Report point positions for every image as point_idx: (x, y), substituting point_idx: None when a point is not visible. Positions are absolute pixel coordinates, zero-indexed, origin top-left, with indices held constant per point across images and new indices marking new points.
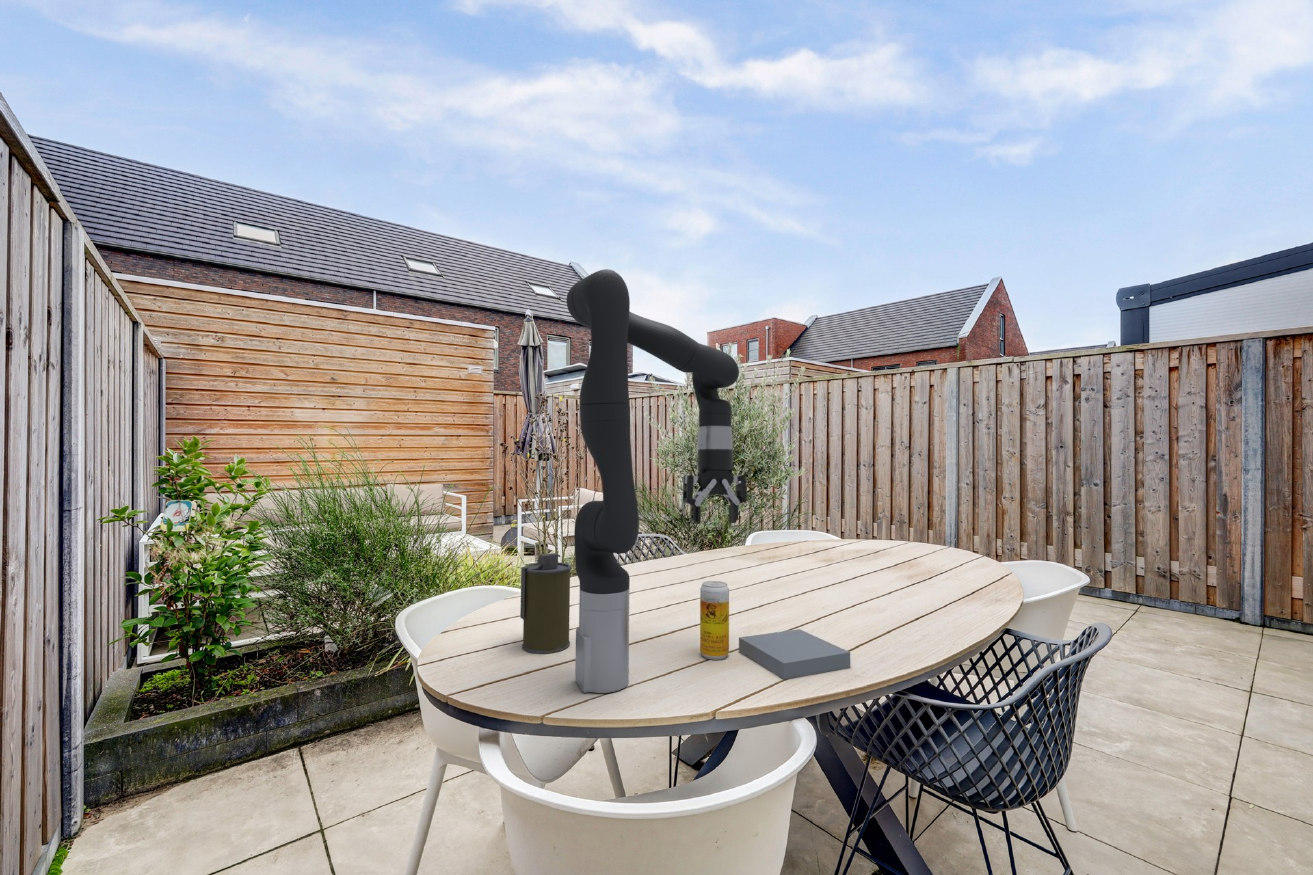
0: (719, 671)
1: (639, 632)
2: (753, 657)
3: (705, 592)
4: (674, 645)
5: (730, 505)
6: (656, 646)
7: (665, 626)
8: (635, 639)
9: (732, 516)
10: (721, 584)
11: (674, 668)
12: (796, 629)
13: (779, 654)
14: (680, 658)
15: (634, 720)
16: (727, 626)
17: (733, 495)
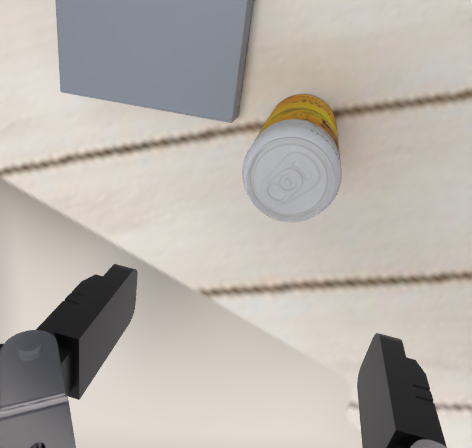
0: (362, 38)
1: (348, 321)
2: (245, 51)
3: (340, 165)
4: (336, 223)
5: (73, 385)
6: (374, 239)
7: (276, 319)
8: (384, 294)
9: (118, 301)
10: (267, 170)
11: (436, 110)
12: (69, 93)
13: None
14: (380, 153)
15: None
16: (282, 109)
17: (30, 404)
